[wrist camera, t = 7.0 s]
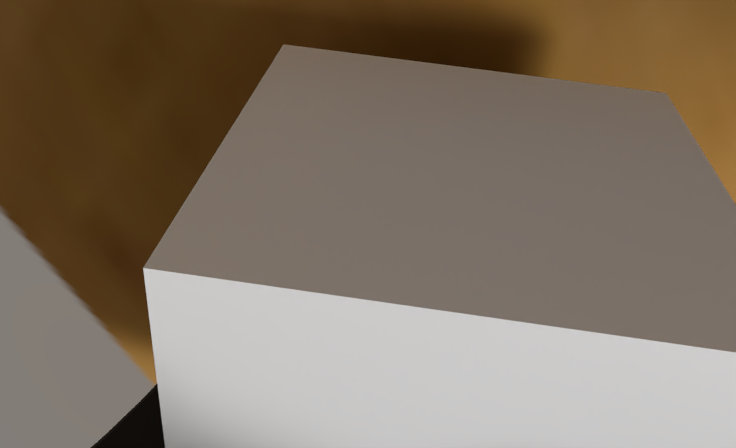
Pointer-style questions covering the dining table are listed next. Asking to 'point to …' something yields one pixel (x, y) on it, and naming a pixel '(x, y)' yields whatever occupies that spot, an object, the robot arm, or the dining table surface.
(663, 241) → the white cardboard carton
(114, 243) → the dining table surface
